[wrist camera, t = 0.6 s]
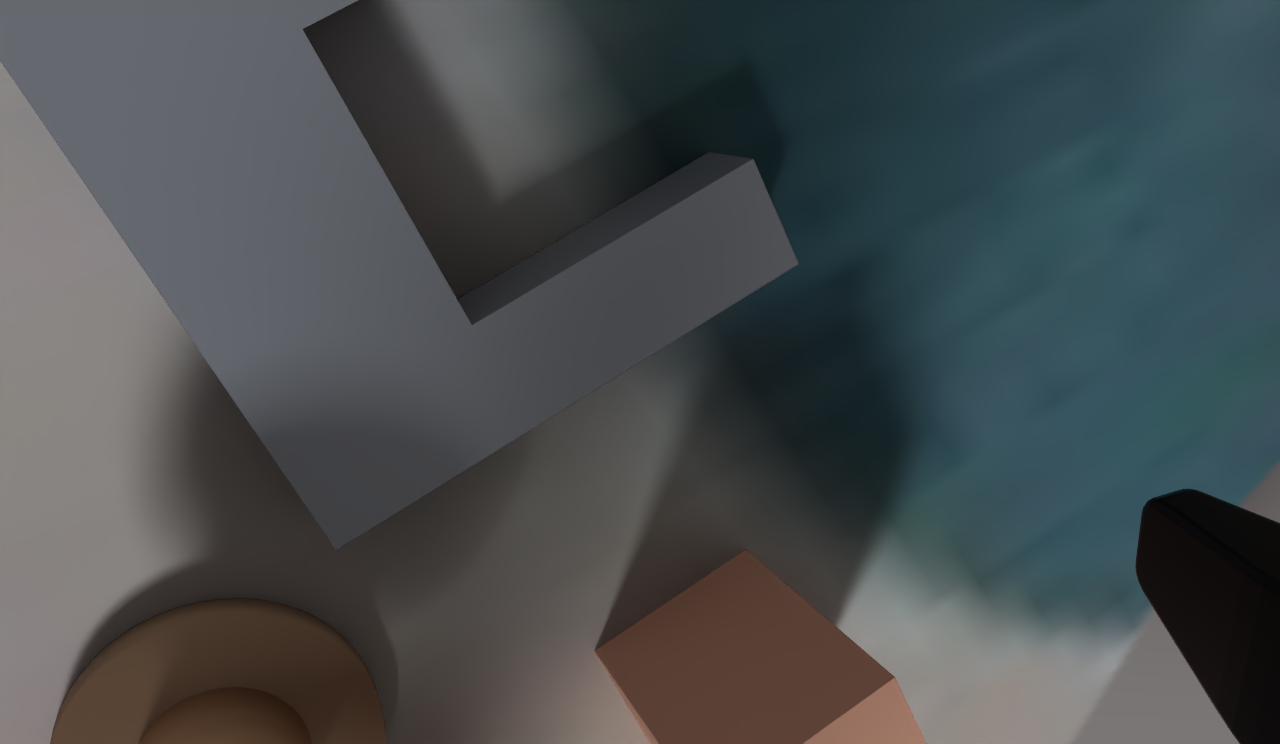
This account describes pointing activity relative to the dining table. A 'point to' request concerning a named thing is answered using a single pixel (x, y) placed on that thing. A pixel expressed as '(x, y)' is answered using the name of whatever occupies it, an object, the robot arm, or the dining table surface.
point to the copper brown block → (752, 669)
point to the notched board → (356, 249)
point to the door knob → (224, 682)
